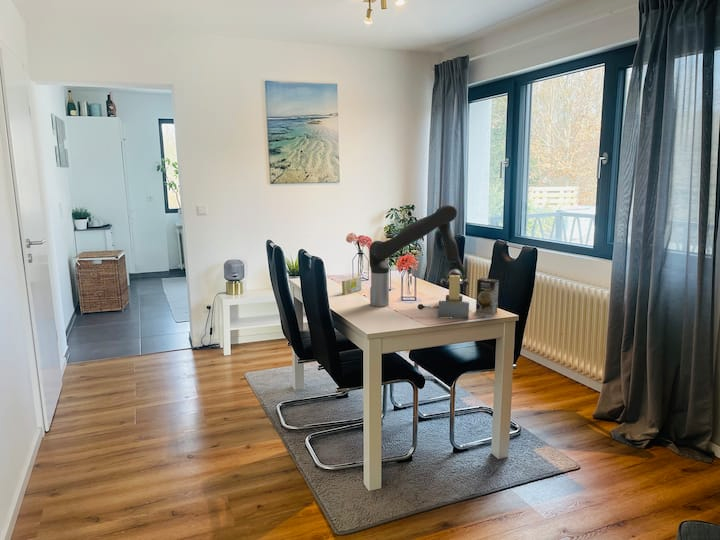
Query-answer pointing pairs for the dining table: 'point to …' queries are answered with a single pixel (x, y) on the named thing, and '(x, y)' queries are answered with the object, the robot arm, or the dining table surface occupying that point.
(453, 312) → the vise
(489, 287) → the coffee box
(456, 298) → the brass block
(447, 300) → the moving jaw
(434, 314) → the dining table surface
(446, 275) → the robot arm
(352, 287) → the candy box
